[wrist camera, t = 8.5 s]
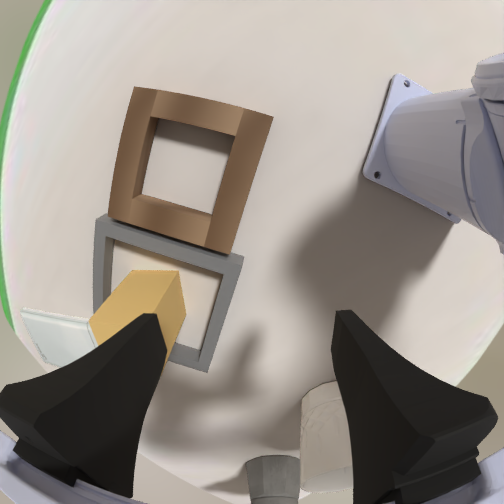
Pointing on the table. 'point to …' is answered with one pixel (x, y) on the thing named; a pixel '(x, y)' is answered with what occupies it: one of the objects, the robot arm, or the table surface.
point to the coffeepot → (274, 479)
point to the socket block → (234, 179)
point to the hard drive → (58, 336)
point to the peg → (142, 305)
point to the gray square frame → (177, 250)
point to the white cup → (325, 442)
